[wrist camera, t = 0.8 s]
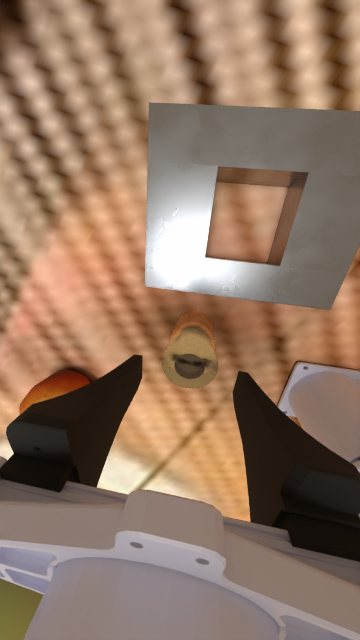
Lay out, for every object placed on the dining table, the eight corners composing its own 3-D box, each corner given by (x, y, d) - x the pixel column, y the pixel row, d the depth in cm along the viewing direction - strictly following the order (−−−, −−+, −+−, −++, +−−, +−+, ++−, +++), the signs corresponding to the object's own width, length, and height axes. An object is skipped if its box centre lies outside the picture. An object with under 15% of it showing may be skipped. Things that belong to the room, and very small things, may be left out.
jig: (373, 142, 13) (420, 113, 10) (310, 300, 17) (330, 310, 15) (159, 131, 14) (149, 102, 11) (153, 280, 19) (145, 286, 16)
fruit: (31, 356, 23) (7, 411, 17) (96, 356, 27) (96, 400, 21) (32, 398, 26) (13, 457, 20) (90, 392, 30) (89, 440, 24)
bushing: (216, 314, 19) (222, 347, 13) (210, 348, 21) (212, 392, 14) (177, 308, 20) (163, 338, 13) (173, 342, 21) (160, 383, 15)
